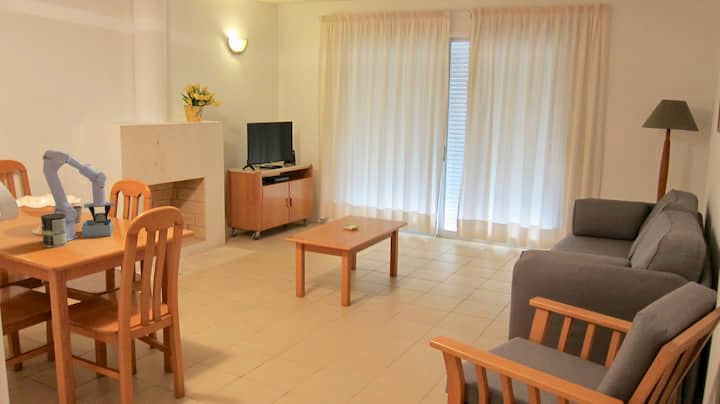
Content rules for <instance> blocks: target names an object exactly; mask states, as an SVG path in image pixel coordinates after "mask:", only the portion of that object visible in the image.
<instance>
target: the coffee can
mask: <svg viewBox="0 0 720 404" xmlns="http://www.w3.org/2000/svg"><path fill="white" fill-rule="evenodd" d="M40 219H41V220H40V221H41V229H42V230H41V232H42V244H43V245H42V246H43V247H45V248H57V247H58V248H60V247H63V246H66V245H67V244H68V241H67V237H66V222H65V215H64V214H54V213H50V214H42V215H40Z"/></svg>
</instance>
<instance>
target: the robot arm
mask: <svg viewBox="0 0 720 404" xmlns="http://www.w3.org/2000/svg"><path fill="white" fill-rule="evenodd" d="M42 160H43V167H42V170H43V171H42V172H43V174H44V177H45V180H46V182H47V185H48V188H49V190H50V193H51V195H52V198H53V200H54V203H55V205H54V206H53V209H54V213H53V214H64V215H65V222H66V237H67V242H70V241H72V240H75V239H78V238H80V235H76V223H74V221H75V219H76V217H77V212H76V210H75V209H74V208H73V206H74V205H72V203H71V202H69V201H68V198H67V195H66V193H65V190H64V188H63V185H62V182H61V180H60V177H59V174H58V171H59V170H60V168H61V167H63V166H64V165H65V164H67V165H69V166H71V167H72V168H75V169H76V170H78V173H79V174H80V175H82V176H83V177H85V178H87V179H88V180H89V181H90V182H91V190H92V202H91V203H84V204H83V208H84V209H88V210H89V212H90V213H91V216H92V220H94V221H95V214H96V213H95V211H96V210H95V208H103V207H104V213H105V214H106V220H107V219H108V218H109V217H108V216H109V213H110V210H111V207H115V206H116V205H115V202H114V201H106V193H105V185H106V184H105V183H106V181H107V176H106V175H105V173H103V172H101V171H99V170H98V169H97V168H93V167H92V165H91V164H89V163H85V164H83V163H81V162H80V161H79V160H78V159H76V158H74V157H73V156H71V155H70V154H69V153H66V152H65V151H61V150H59V151H58V150H52V149H49V150H47V151H45V152H44V154H43V156H42Z"/></svg>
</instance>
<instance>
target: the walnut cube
mask: <svg viewBox="0 0 720 404" xmlns="http://www.w3.org/2000/svg"><path fill="white" fill-rule="evenodd" d="M93 226H105V223H94V224H93Z"/></svg>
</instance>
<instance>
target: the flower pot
mask: <svg viewBox="0 0 720 404" xmlns="http://www.w3.org/2000/svg"><path fill="white" fill-rule="evenodd" d="M73 206H74V207H73V208H74V209H75V210H76V212H77V217H76V219H75V221H74V223H75V224H79V223H81V219H82V218H81V216H82V210H83V208H84V206H80V205H73Z"/></svg>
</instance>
